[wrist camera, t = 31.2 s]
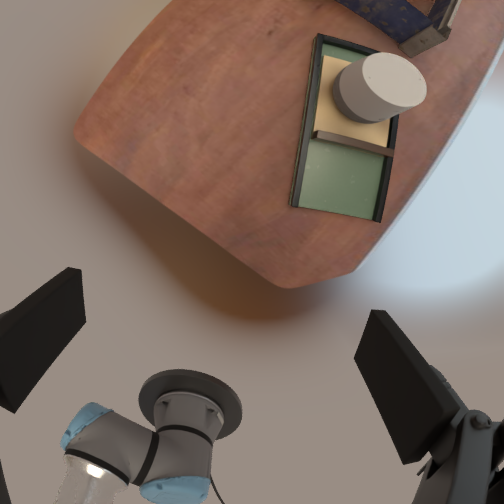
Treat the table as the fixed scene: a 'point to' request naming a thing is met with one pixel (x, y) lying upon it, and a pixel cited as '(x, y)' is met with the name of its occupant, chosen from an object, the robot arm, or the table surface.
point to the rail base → (338, 153)
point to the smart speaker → (378, 88)
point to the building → (408, 21)
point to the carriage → (344, 118)
